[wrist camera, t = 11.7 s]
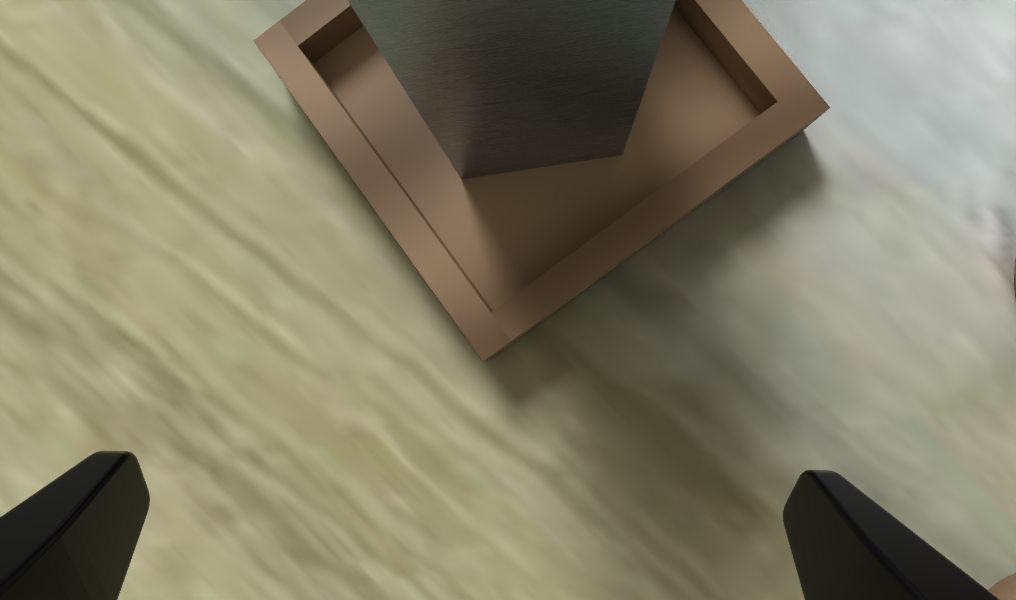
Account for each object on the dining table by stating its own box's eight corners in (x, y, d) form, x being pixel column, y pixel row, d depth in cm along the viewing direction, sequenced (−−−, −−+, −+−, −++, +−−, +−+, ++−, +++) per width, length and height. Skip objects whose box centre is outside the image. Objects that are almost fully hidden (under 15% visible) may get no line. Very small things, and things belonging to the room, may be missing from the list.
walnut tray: (804, 129, 19) (829, 107, 17) (490, 359, 19) (483, 361, 17) (571, -156, 20) (572, -205, 18) (280, 67, 20) (253, 40, 18)
